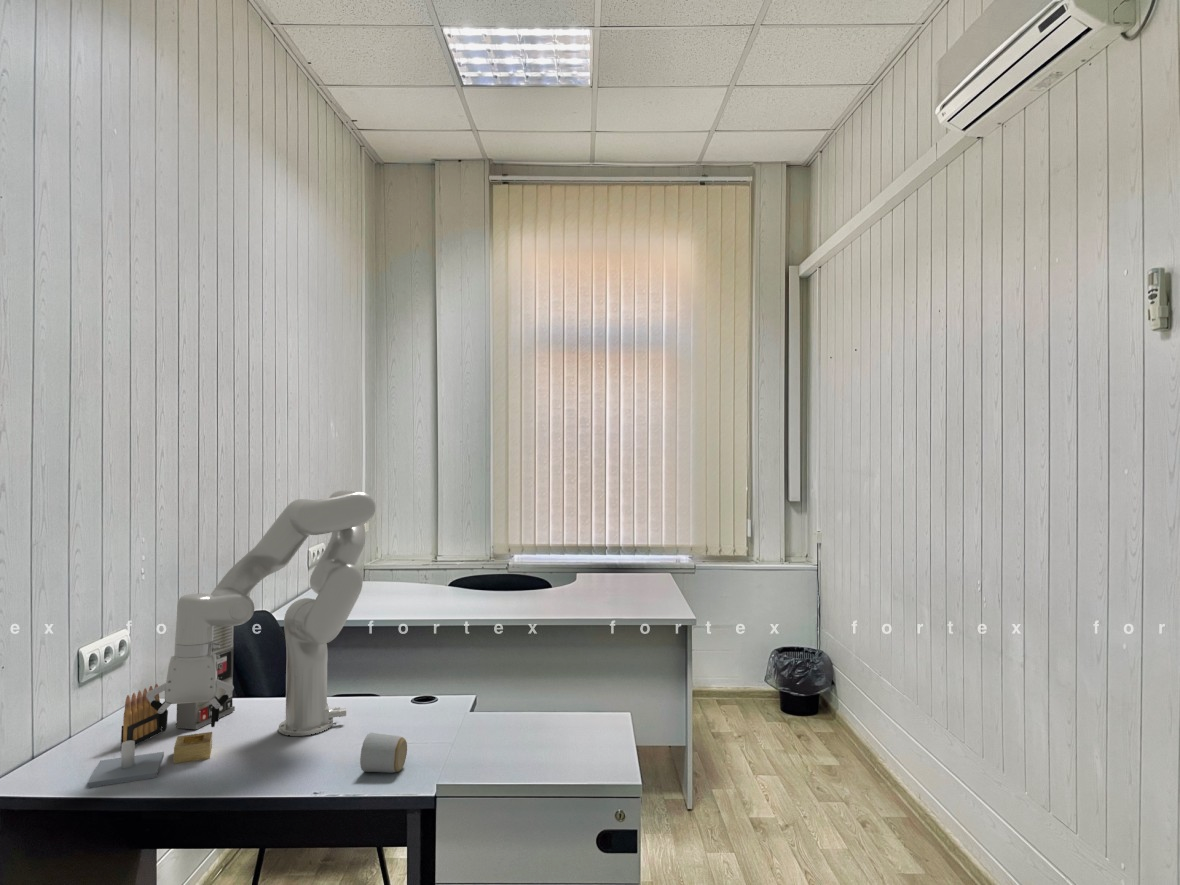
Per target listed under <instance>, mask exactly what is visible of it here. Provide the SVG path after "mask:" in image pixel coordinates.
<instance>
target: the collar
mask: <svg viewBox="0 0 1180 885" xmlns="http://www.w3.org/2000/svg"><path fill="white" fill-rule="evenodd" d="M211 749H213V731H207V732H201V733H193V734H192V733H191V734H185V735H179V736H177V737H176V740H175V743H174V746H173V764H180V763H187V762H194V761H199V760H200V761H201V760H207V759H209V760H210V759H211V755H212V750H211Z"/></svg>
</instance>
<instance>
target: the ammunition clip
mask: <svg viewBox="0 0 1180 885" xmlns="http://www.w3.org/2000/svg"><path fill="white" fill-rule="evenodd" d="M157 687H159V685H158V683H156V684H155V685H154V687H153V686H152V685H150V686H149V689H147V688H146V687H145V688H144V689H143V691H141V690H140V689H139V690H138V692H137V695H136V693H135V692H133V693H132V695H131V697H130V695H129V694H128V695H127V696H126V698H125V702H124V712H123V719H122V720H123V723H122V725H121V735H120V745H121V744H122V743H123V742H125V741H135V746H137V745H139V744H141V743H143V742H146V741H148V740H150V739H152V738H153V737H155V736H157V735H159V734H161V733H163V732H162V727H159V713H158V711H157V710H156V709H154V708H153V707H152V706H151V704H150V702H149V700H148V699H147V697H146V694H147V693H148V692H149V691H151V690H153V689H155V688H157ZM155 697H156V699H157V700H158V701H159V702H160V703H161V700H160V693H159V694H157V695H155Z"/></svg>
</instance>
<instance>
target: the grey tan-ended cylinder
mask: <svg viewBox="0 0 1180 885" xmlns="http://www.w3.org/2000/svg"><path fill="white" fill-rule="evenodd" d="M407 743H408V742H407V739H406V738H404V737H403V736H400V735H395V734H393V735H392V734H384V733H378V732H377V733H376V732H369V733H367V735H366V736H365V738H364V739H363V742H362V746H361V751H360V758H359V760H360V761H359V763H360V768H361V771H363V772H365V773H366V772H368V773H370V772H371V773H392V774H393V773H398V772H400V771H401V770H402V769H403V767H404V766H405V762H406V759H407V756H408V755H407V754H408V744H407Z"/></svg>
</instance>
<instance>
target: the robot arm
mask: <svg viewBox="0 0 1180 885" xmlns="http://www.w3.org/2000/svg"><path fill="white" fill-rule="evenodd" d="M374 500H375V499H373V497H372V496H371V495H369V493H366V492H364V491H359V490H349V489H348V490H337V491H335V492H333V493H332V494H331V495H329V497H327V498H321V499H307V498H300V499H295V500H293V501H291V502H290V503H289V504H287V505H286V507H285V508H284V509H283V511H282V512H281V513H280V514H279V515H278V517H277V518H276V519H275V521H274V522H273V523H272V525H271V526H270V528H269V529H268V530H267V531H266V532H265V534H263V537H261V539H260V540H259V541H258V542H257V544H256V545H255V546H254V547H253V548H252V549H250V551H248V552H247V553H246V554H244V555H243V557H241V559H240V560H238V561H237V562H236V563H235V564H234V565H233V566H232V567H231V568H230V569H229V570H228V571H227V573H225V575H224V576H223V577H222V579H221V580H220V581H219V583H218V584H217V585H216V586H215V587H214V588H213V590H212V592H211V593H210V594H209V593H190V594H184V595H182V596H180V597H179V598H178V600H177V606H176V607H177V608H176V622H175V625H176V626H175V639H174V654H173V655H171V656H170V659H169V661H168V662H169V663H168V667H167V671H166V672H167V673H166V678H165V682H164V683H163V684H161V685H158V687H157V688H155V689H154V688H153V690H151V691H149V690H148V691H149V692H148V691H147V694H146V697H147V699H148V700H149V702H150V704H151V706H152V707H153V708H154V709H156V710H157V711H158V713H159V727H161V728H162V732H161V733H164V732H167V731H166V730H167V728H168V720H169V719H168V714H169V710H168V708H169V707H170V706H171V705H177V704H180V703H193V702H204V701H209V702H210V703H211V704H212V705H213V707H212V716H211V723H210V727H211V728H215V726H216V723H217V722H219V721H220V718H219V708H220V706H221V705H222V704H223V703H225V702H226V701H227V700H228V698H229V696H230V695H231V693H232V691H234V689H235V686H234V684H233V685H231V684H228V683H226V682H223V681H221V680H219V679H217V659H216V654H215V653H212V652H213V651H214V650H218V649H219V647H220V643H219V644H216V643H214V642H213V630H214V625H218V626H234V627H236V626H240V625H243V624H246V623H247V622H249V620H250V619H252V617H253V615H254V613H255V603H254V602H253V600H252V598H251V597H249V594H250V593H251V592H252V590H253V589H254V588H255V587H256V586H257V585H258V583H260V582H261V581H262V580H264V579H265V578H267V577H268V576H270V575H272V574H274V573H277V572H278V571H280V570H282V569H284V568H285V567H286V566H287V565H289V563H290V562H291V560H292V559H293V557H294V556H295V555H296V554H297V552H298V551H299V550H300V548H301V547H302V545H303V544H304V542H305V541H306V540H307V539H308V537H309V536H318V535H319V536H320V535H326V534H329V533H330V534H331V537H330V539H329V541H328V543H327V545H326V547H325V549H324V551H323V553H322V554H321V556H320V558H319V560H318V562H317V564H316V565H315V567H314V569H313V571H312V572H311V575H310V578H309V585H310V588H311V589H312V591H313V592H314V593H315V594H317V596H316V598H309V597H307V598H306V597H305V598H304V597H303V598H299V599H297V600H295V601H293V603H291V604H290V606H289V607H288V608H287V609H286V612H285V614H284V618H283V629H284V630H283V631H284V637H285V647H286V667H285V668H286V670H285V672H286V673H285V719H284V720H283V721H281V722H280V723H279V724H278V732H279V733H280V734H281V735H284V736H288V735H290V736H289V737H303V736H305V737H306V736H311V734H312V735H315V733H316V734H319V732H320V733H322V731H323V732H325V731H327V730H329V729H330V728H332V727H333V725H334V718H338V717H339V718H343V717H346V716H347V708H346V707H344V708H341V707H340V706H337V707H330V706H329V705H328V704H329V703H328V698H327V697H328V644H327V643H330V642H332V641H333V640H335V639H336V638H337V636H338V635H339V634H340V633H341V631H342V629H343V628H344V627H345V626H344V625H345V624H346V622H347V620H348V618H349V616H350V614H351V613H352V611H353V609H354V606H355V604H356V602H357V601H358V598H359V596H360V595H361V592H362V589H363V582H364V581H363V575H362V572H361V571H360V569H359V568H358V567H357V566H356V565H357V562H358V561H359V558H360V556H361V554H362V552H363V550H364V546H365V544H366V527H365V524H367V523H368V522H369V521H371V519H372V518H373V517H374V515H375V513H376V503H375V501H374ZM217 687H219V688H222V689H224V690H226V692H225V693H224V695H223V696H222V697H221V698H218V697H217V696H216V695H215V694H216V691H217ZM162 692H164V701H163V702H161V701H160V702H159V701H158V700H157V699H156V697H155V695H157V694H159V695H160V694H161V693H162ZM328 728H329V729H328ZM326 729H327V730H326ZM324 730H325V731H324Z"/></svg>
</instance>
